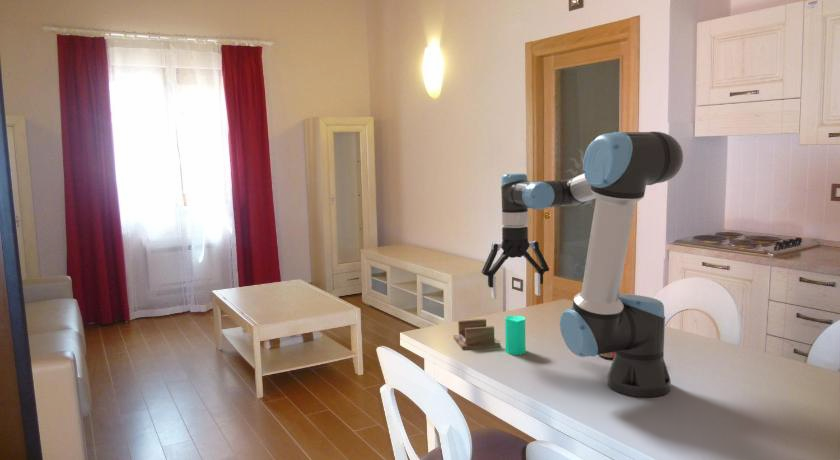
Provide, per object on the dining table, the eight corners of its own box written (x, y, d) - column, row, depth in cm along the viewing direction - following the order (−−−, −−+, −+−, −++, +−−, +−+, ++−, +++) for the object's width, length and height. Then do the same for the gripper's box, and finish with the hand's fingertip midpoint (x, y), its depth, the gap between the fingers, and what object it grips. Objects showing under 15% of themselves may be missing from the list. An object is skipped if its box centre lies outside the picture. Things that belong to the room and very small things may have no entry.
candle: (502, 353, 186) (502, 314, 184) (509, 347, 191) (509, 309, 190) (521, 355, 183) (521, 316, 181) (528, 349, 188) (527, 311, 187)
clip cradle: (500, 346, 192) (499, 327, 192) (462, 349, 190) (462, 330, 190) (489, 335, 204) (488, 317, 203) (453, 338, 202) (453, 320, 201)
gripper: (550, 222, 189) (550, 290, 191) (470, 226, 185) (472, 296, 187) (559, 225, 181) (560, 296, 184) (477, 229, 177) (478, 302, 180)
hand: (515, 296), depth 186 cm, fingers open, 13 cm apart
